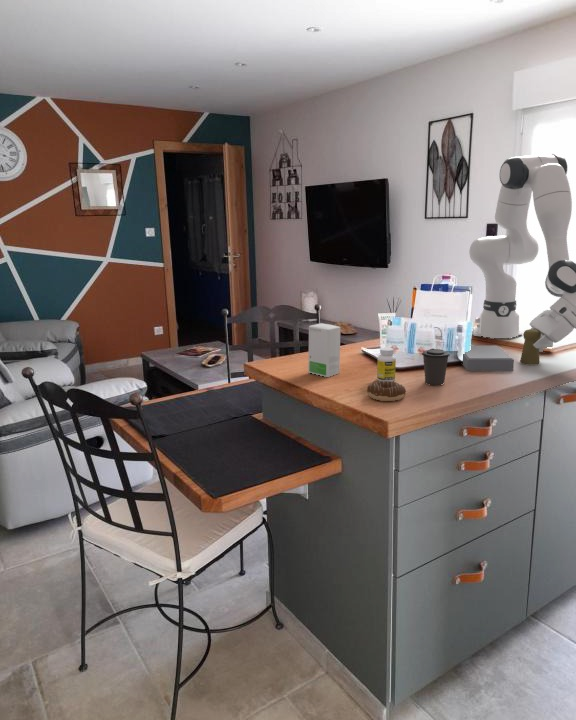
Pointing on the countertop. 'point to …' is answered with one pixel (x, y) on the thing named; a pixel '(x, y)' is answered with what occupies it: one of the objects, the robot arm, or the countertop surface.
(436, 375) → the coffee cup
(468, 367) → the plinth
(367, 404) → the countertop surface
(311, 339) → the skincare box
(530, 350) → the cork
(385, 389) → the donut
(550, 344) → the skincare box
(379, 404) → the countertop surface
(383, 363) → the supplement bottle
